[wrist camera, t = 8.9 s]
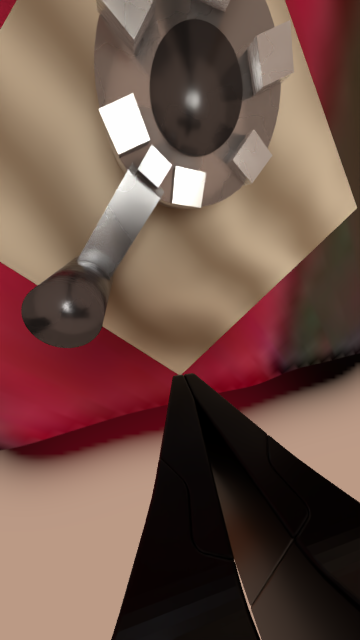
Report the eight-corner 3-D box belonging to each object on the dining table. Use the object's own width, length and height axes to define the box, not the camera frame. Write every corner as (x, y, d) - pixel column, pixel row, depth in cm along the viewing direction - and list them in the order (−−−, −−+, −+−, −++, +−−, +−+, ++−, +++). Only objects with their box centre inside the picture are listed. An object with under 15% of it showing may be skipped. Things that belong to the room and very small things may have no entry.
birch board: (173, -216, 9) (183, -306, 7) (340, 208, 19) (359, 207, 17) (-73, 202, 12) (-100, 200, 11) (177, 366, 22) (180, 376, 21)
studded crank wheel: (164, -67, 9) (247, -705, 3) (277, 115, 13) (418, 18, 7) (12, 255, 13) (-94, 288, 7) (134, 319, 17) (138, 379, 11)
